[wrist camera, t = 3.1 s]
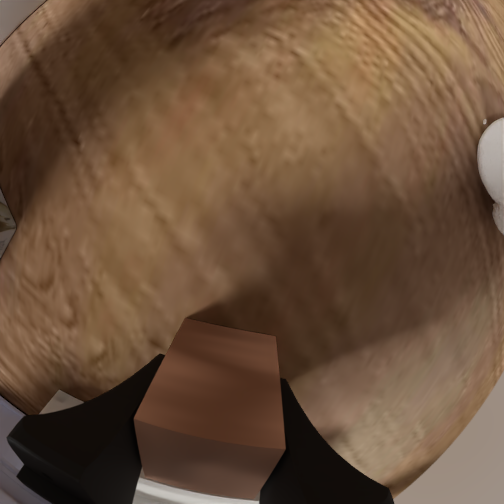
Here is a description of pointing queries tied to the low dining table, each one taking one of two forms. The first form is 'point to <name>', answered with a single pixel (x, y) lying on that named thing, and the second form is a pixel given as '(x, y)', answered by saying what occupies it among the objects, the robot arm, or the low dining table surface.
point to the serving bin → (150, 491)
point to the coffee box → (5, 224)
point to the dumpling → (493, 167)
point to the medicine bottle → (15, 14)
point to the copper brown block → (213, 412)
